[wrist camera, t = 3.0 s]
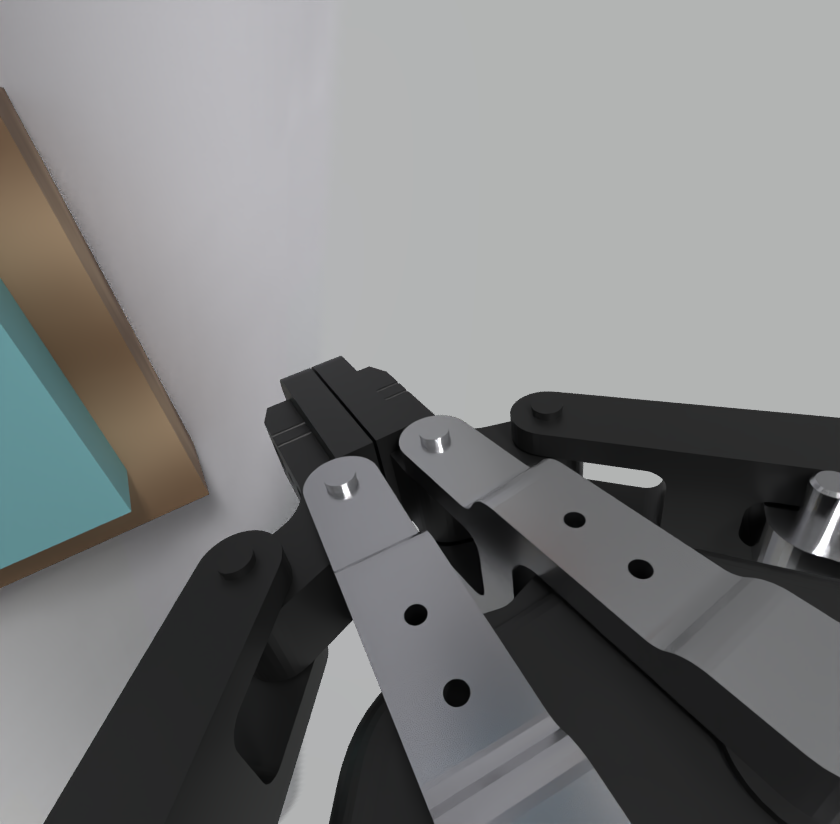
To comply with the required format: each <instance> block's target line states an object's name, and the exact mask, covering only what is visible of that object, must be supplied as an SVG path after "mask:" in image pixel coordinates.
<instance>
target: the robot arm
mask: <svg viewBox="0 0 840 824" xmlns="http://www.w3.org/2000/svg"><path fill="white" fill-rule="evenodd" d="M280 383H281V387H282V390H283V392H284V395H285V398H286V401H284V402H281V403H279V404H276V405H274V406H272V407H269V408H267V412H266V417H265V422H264V423H265V426H266V428H267V431H268V433H269V435H270V438H271V440H272V443H273V445H274V447H275V450H276V452H277V455H278V457H279V459H280V462H281V464H282V467H283V469H284V472H285V474H286V476H287V478H288V479H289V481H290V483H291V485H292V487H293V489H294V491H295V493H296V495H297V496H298V498H299V500H300V503H299V506H298V508H297V510H296V512H295V513H294V515H293V516H292V517H291V518H290V520H289V521H288V522H287V523H286V524H285V525H283V526H282V527H281V528H280V529H279V530H277V531H276V532H275V533H274V534H273V535H272V534H270V533H268V532H265V531H258V530H252V531H245V532H241V533H238V534H235V535H232V536H230V537H228V538H226V539H224V540H222V541H221V542H219V543H218V544H217V545H215V546H214V547H213V548H212V549H210V550H209V551H208V552H207V553H206V554H205V556H204V557H203V558H202V559H201V561H200V562H199V564H198V565H197V567H196V569H195V570H194V572H193V574H192V575H191V577H190V579H189V580H188V582H187V584H186V586H185V587H184V589H183V591H182V592H181V594H180V596H179V597H178V599H177V601H176V602H175V604H174V606H173V607H172V609H171V611H170V612H169V614H168V616H167V617H166V619H165V621H164V622H163V624H162V626H161V627H160V629H159V631H158V632H157V634H156V636H155V637H154V639H153V641H152V643H151V644H150V646H149V648H148V649H147V651H146V653H145V654H144V656H143V658H142V659H141V661H140V663H139V664H138V666H137V668H136V669H135V671H134V673H133V674H132V676H131V678H130V679H129V681H128V683H127V684H126V686H125V688H124V689H123V691H122V693H121V694H120V696H119V698H118V699H117V701H116V703H115V705H114V706H113V708H112V710H111V711H110V713H109V715H108V716H107V718H106V720H105V721H104V723H103V725H102V726H101V728H100V730H99V731H98V733H97V735H96V736H95V738H94V740H93V741H92V743H91V745H90V746H89V748H88V750H87V751H86V753H85V755H84V756H83V758H82V760H81V762H80V763H79V765H78V767H77V768H76V770H75V772H74V773H73V775H72V777H71V778H70V780H69V782H68V783H67V785H66V787H65V788H64V790H63V792H62V793H61V795H60V797H59V798H58V800H57V802H56V803H55V805H54V807H53V808H52V810H51V812H50V813H49V815H48V817H47V818H46V820H45V822H44V824H278V821H279V817H280V814H281V811H282V808H283V804H284V801H285V798H286V794H287V791H288V788H289V785H290V781H291V778H292V775H293V771H294V768H295V765H296V762H297V758H298V755H299V752H300V748H301V745H302V742H303V739H304V735H305V732H306V729H307V725H308V722H309V719H310V715H311V712H312V709H313V706H314V702H315V699H316V695H317V692H318V689H319V686H320V683H321V679H322V676H323V673H324V669H325V666H326V662H327V658H328V645H329V644H330V643H331V642H332V641H333V640H334V639H335V638H336V637H337V636H338V635H339V634H340V633H341V632H342V630H344V628H345V627H346V626H347V625H348V624H349V623H350V622H351V621H352V620H353V621H354V623H355V626H356V628H357V631H358V633H359V636H360V638H361V641H362V643H363V646H364V648H365V651H366V653H367V656H368V658H369V661H370V664H371V666H372V669H373V671H374V674H375V676H376V679H377V681H378V683H379V686H380V689H381V691H382V692H381V693H380V694H379V696H378V697H377V698H376V699H375V701H374V702H373V703H372V705H371V706H370V708H369V709H368V710H367V712H366V713H365V715H364V717H363V718H362V720H361V722H360V723H359V725H358V727H357V729H356V731H355V733H354V736H353V737H352V740H351V742H350V744H349V746H348V749H347V752H346V755H345V758H344V761H343V764H342V767H341V771H340V775H339V779H338V783H337V788H336V793H335V798H334V802H333V807H332V812H331V816H330V821H329V824H840V418H834V417H824V416H813V415H802V414H791V413H780V412H770V411H759V410H747V409H737V408H726V407H715V406H704V405H693V404H682V403H671V402H660V401H650V400H639V399H628V398H617V397H606V396H595V395H584V394H573V393H561V392H537V393H533V394H529V395H527V396H524V397H522V398H521V399H519V400H518V401H517V402H516V403H515V404H514V405H513V406H512V408H511V411H510V414H511V415H510V416H511V421H510V422H506V423H502V424H498V425H493V426H488V427H483V428H475V429H474V428H473V427H471V426H470V425H468V424H467V423H466V422H464V421H463V420H461V419H459V418H456V417H452V416H446V415H436V416H435V415H434V414H433V413H432V412H431V411H430V410H428V409H427V408H426V407H425V406H424V405H423V404H422V403H421V402H420V401H418V400H417V399H416V398H415V397H414V396H413V395H412V394H411V393H409V392H408V391H406V389H405V388H404V387H403V386H402V385H401V384H398V383H397V381H396V380H395V379H394V378H393V377H392V376H391V375H389V374H388V373H387V372H386V371H382V370H379V369H376V368H372V367H367V368H365V369H362V370H359V371H356V370H355V369H354V368H353V367H352V366H351V365H350V364H349V363H348V362H347V361H346V360H345V359H344V358H343V357H342V356H339V357H337V358H334V359H331V360H329V361H326V362H324V363H321V364H319V365H316V366H314V367H312V369H311V368H309V369H306V370H304V371H301V372H299V373H296V374H294V375H291V376H288V377H286V378H283V379H281V380H280ZM583 462H587V463H595V464H601V465H608V466H615V467H622V468H630V469H637V470H643V471H649V472H652V473H654V474H657V475H658V476H660V477H661V478H662V479H663V481H662V482H661V483H660V484H659V485H658V486H656V487H652V488H641V487H634V486H627V485H621V484H615V483H608V482H602V481H595V480H589V479H585V478H583ZM412 521H413V522H414V523H415V524H416V526H417V527H418V528H419V532H418V530H417V529H416V528H415V526H414V524H413V523H412Z"/></svg>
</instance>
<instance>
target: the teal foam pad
mask: <svg viewBox="0 0 840 824" xmlns="http://www.w3.org/2000/svg"><path fill="white" fill-rule="evenodd" d="M129 512H131V503H130V494H129V485H128V476H127V469H126V468H125V466H124V465H123V463H122V462H121V460H120V459H119V457H118V456H117V454H116V453H115V451H114V450H113V448H112V447H111V445H110V444H109V442H108V441H107V439H106V438H105V436H104V434H103V433H102V431H101V430H100V428H99V427H98V425H97V424H96V422H95V421H94V419H93V418H92V416H91V415H90V413H89V412H88V410H87V409H86V407H85V406H84V404H83V403H82V401H81V400H80V398H79V397H78V395H77V393H76V392H75V390H74V389H73V387H72V386H71V384H70V383H69V381H68V380H67V378H66V377H65V375H64V374H63V372H62V371H61V369H60V368H59V366H58V365H57V363H56V362H55V360H54V359H53V357H52V356H51V354H50V352H49V351H48V349H47V348H46V346H45V345H44V343H43V342H42V340H41V339H40V337H39V336H38V334H37V333H36V331H35V330H34V328H33V327H32V325H31V324H30V322H29V321H28V319H27V318H26V316H25V315H24V313H23V311H22V310H21V308H20V307H19V305H18V304H17V302H16V301H15V299H14V298H13V296H12V295H11V293H10V292H9V290H8V289H7V287H6V286H5V284H4V283H3V281H2V280H1V278H0V569H2V568H4V567H7V566H9V565H11V564H13V563H16V562H18V561H20V560H22V559H25V558H27V557H29V556H32V555H34V554H36V553H38V552H41V551H43V550H45V549H48V548H50V547H52V546H54V545H57V544H59V543H61V542H63V541H66V540H68V539H70V538H73V537H75V536H77V535H79V534H82V533H84V532H86V531H89V530H91V529H93V528H95V527H98V526H100V525H102V524H104V523H107V522H109V521H111V520H114V519H116V518H118V517H120V516H123V515H125V514H127V513H129Z"/></svg>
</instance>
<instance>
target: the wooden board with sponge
mask: <svg viewBox="0 0 840 824" xmlns="http://www.w3.org/2000/svg"><path fill="white" fill-rule="evenodd" d="M0 278H1V280H2V281H3V283H4V284H5V286H6V287H7V289H8V290H9V292H10V293H11V295H12V296H13V298H14V299H15V301H16V302H17V304H18V305H19V307H20V308H21V310H22V311H23V313H24V315H25V316H26V318H27V319H28V321H29V322H30V324H31V325H32V327H33V328H34V330H35V331H36V333H37V334H38V336H39V337H40V339H41V340H42V342H43V343H44V345H45V346H46V348H47V349H48V351H49V352H50V354H51V356H52V357H53V359H54V360H55V362H56V363H57V365H58V366H59V368H60V369H61V371H62V372H63V374H64V375H65V377H66V378H67V380H68V381H69V383H70V384H71V386H72V387H73V389H74V390H75V392H76V393H77V395H78V397H79V398H80V400H81V401H82V403H83V404H84V406H85V407H86V409H87V410H88V412H89V413H90V415H91V416H92V418H93V419H94V421H95V422H96V424H97V425H98V427H99V428H100V430H101V431H102V433H103V434H104V436H105V438H106V439H107V441H108V442H109V444H110V445H111V447H112V448H113V450H114V451H115V453H116V454H117V456H118V457H119V459H120V460H121V462H122V463H123V465H124V466H125V468H126V469H127V476H128V485H129V494H130V503H131V512H129V513H127V514H125V515H123V516H120V517H118V518H116V519H114V520H111V521H109V522H107V523H104V524H102V525H100V526H98V527H95V528H93V529H91V530H89V531H86V532H84V533H82V534H79V535H77V536H75V537H73V538H70V539H68V540H66V541H63V542H61V543H59V544H57V545H54V546H52V547H50V548H48V549H45V550H43V551H41V552H38V553H36V554H34V555H32V556H29V557H27V558H25V559H22V560H20V561H18V562H16V563H13V564H11V565H9V566H7V567H4V568H2V569H0V588H2V587H4V586H6V585H8V584H11V583H13V582H15V581H17V580H20V579H22V578H24V577H26V576H28V575H31V574H33V573H35V572H37V571H40V570H42V569H44V568H46V567H48V566H51V565H53V564H55V563H57V562H60V561H62V560H64V559H66V558H69V557H71V556H73V555H75V554H77V553H80V552H82V551H84V550H86V549H89V548H91V547H93V546H95V545H97V544H100V543H102V542H104V541H106V540H109V539H111V538H113V537H115V536H117V535H120V534H122V533H124V532H126V531H129V530H131V529H133V528H135V527H137V526H140V525H142V524H144V523H146V522H149V521H151V520H153V519H155V518H157V517H160V516H162V515H164V514H166V513H169V512H171V511H173V510H175V509H178V508H180V507H182V506H184V505H186V504H189V503H191V502H193V501H195V500H198V499H200V498H202V497H204V496H206V495H209V492H208V489H207V485H206V482H205V479H204V476H203V472H202V469H201V466H200V463H199V460H198V456H197V453H196V450H195V447H194V444H193V442H192V440H191V438H190V436H189V434H188V432H187V431H186V429H185V427H184V425H183V423H182V421H181V419H180V417H179V416H178V414H177V412H176V410H175V408H174V406H173V404H172V403H171V401H170V399H169V397H168V395H167V393H166V391H165V389H164V388H163V386H162V384H161V382H160V380H159V378H158V376H157V374H156V373H155V371H154V369H153V367H152V365H151V363H150V361H149V359H148V358H147V356H146V354H145V352H144V350H143V348H142V346H141V345H140V343H139V341H138V339H137V337H136V335H135V333H134V331H133V330H132V328H131V326H130V324H129V322H128V320H127V318H126V316H125V315H124V313H123V311H122V309H121V307H120V305H119V303H118V301H117V300H116V298H115V296H114V294H113V292H112V290H111V288H110V287H109V285H108V283H107V281H106V279H105V277H104V275H103V273H102V272H101V270H100V268H99V266H98V264H97V262H96V260H95V258H94V257H93V255H92V253H91V251H90V249H89V247H88V245H87V243H86V242H85V240H84V238H83V236H82V234H81V232H80V230H79V229H78V227H77V225H76V223H75V221H74V219H73V217H72V215H71V214H70V212H69V210H68V208H67V206H66V204H65V202H64V200H63V199H62V197H61V195H60V193H59V191H58V189H57V187H56V185H55V184H54V182H53V180H52V178H51V176H50V174H49V172H48V171H47V169H46V167H45V165H44V163H43V161H42V159H41V157H40V156H39V154H38V152H37V150H36V148H35V146H34V144H33V142H32V141H31V139H30V137H29V135H28V133H27V131H26V129H25V127H24V126H23V124H22V122H21V120H20V118H19V116H18V114H17V113H16V111H15V109H14V107H13V105H12V103H11V101H10V99H9V98H8V96H7V94H6V92H5V90H4V88H2V87H0Z"/></svg>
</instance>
